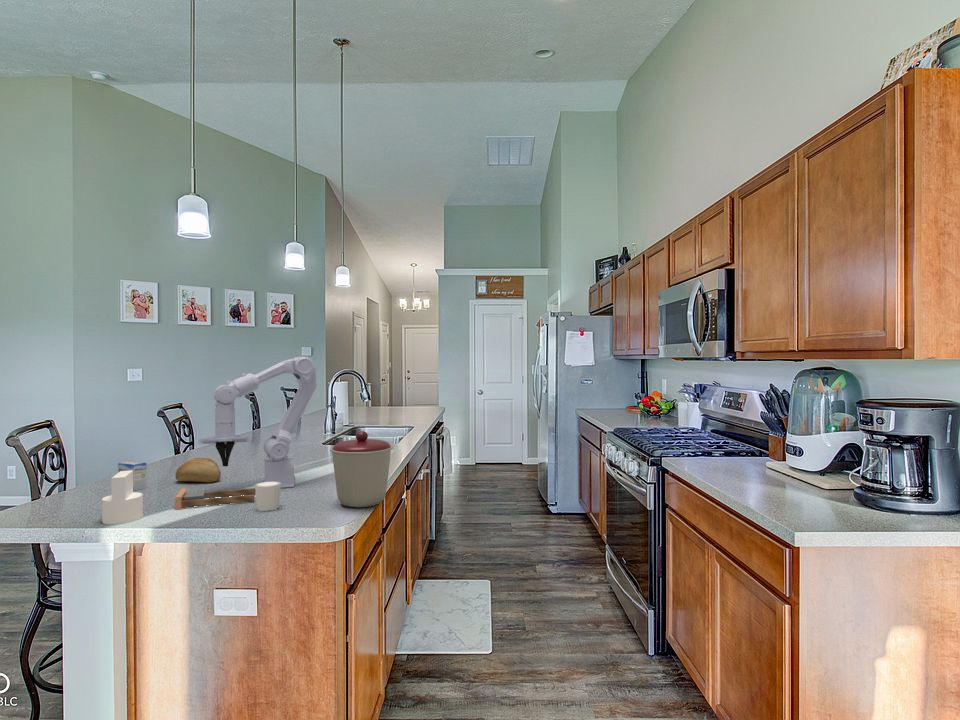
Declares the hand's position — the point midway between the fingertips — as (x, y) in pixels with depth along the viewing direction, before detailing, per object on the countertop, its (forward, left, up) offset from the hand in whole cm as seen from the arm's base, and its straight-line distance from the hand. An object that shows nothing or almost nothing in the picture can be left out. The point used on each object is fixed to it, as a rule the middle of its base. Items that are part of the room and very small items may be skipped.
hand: (225, 465), depth 171 cm
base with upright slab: (+23, +21, -9) cm, 32 cm away
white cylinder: (-13, +24, -9) cm, 29 cm away
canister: (-39, +28, -9) cm, 49 cm away
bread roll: (+10, -20, -9) cm, 24 cm away
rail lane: (+1, +11, -8) cm, 14 cm away
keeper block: (+7, +11, -9) cm, 16 cm away
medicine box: (+29, -16, -9) cm, 34 cm away
